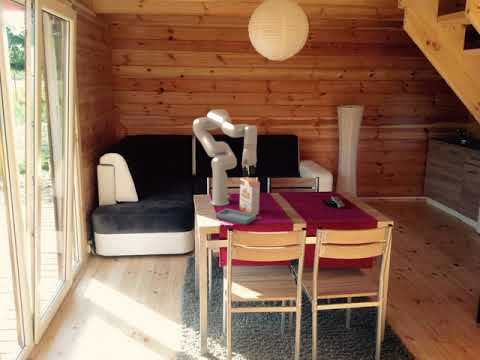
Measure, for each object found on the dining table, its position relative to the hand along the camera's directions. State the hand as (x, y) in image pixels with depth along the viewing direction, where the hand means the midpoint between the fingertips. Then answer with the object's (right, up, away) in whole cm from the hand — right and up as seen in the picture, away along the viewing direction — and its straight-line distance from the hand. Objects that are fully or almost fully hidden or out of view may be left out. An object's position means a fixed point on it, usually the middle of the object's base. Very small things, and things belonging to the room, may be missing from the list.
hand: (249, 174), depth 275 cm
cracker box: (0, -23, +7) cm, 24 cm away
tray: (-8, -26, -6) cm, 28 cm away
